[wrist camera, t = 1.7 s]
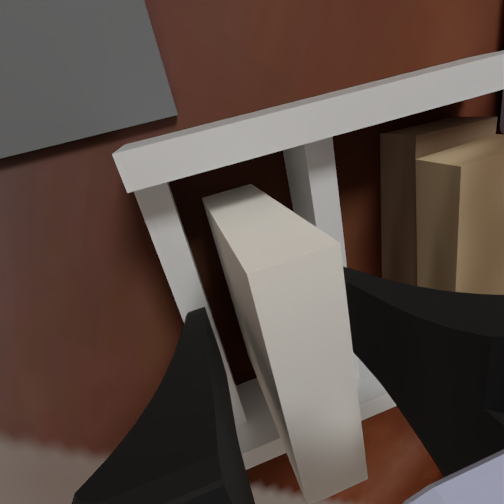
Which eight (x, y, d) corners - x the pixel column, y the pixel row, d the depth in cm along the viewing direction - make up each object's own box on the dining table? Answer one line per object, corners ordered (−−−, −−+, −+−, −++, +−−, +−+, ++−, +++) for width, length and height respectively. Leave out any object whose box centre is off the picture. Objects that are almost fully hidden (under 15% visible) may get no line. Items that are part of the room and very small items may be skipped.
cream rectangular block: (250, 183, 13) (340, 243, 7) (286, 340, 16) (367, 478, 10) (201, 197, 13) (246, 274, 6) (248, 354, 16) (307, 506, 10)
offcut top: (495, 134, 12) (552, 136, 11) (482, 287, 15) (525, 310, 14) (415, 159, 12) (461, 166, 10) (417, 313, 15) (453, 340, 13)
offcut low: (445, 117, 14) (497, 116, 12) (434, 290, 18) (472, 314, 16) (374, 133, 14) (416, 135, 12) (377, 308, 18) (410, 336, 15)
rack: (470, 56, 13) (567, 37, 10) (456, 315, 19) (517, 354, 16) (124, 144, 11) (111, 154, 8) (222, 406, 17) (237, 473, 13)
